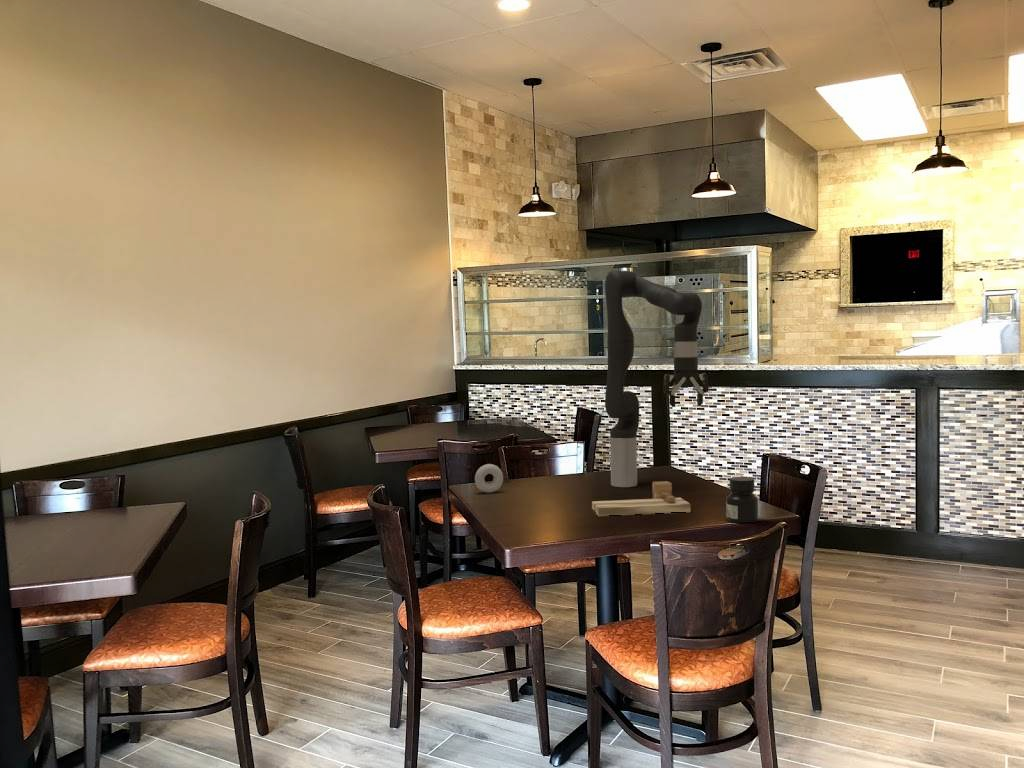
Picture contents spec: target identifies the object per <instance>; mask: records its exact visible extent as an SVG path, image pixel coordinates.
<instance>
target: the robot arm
mask: <svg viewBox="0 0 1024 768" xmlns="http://www.w3.org/2000/svg"><path fill="white" fill-rule="evenodd" d="M604 292H605V304H606V315H607V317H606V318H607V319H606V320H607V322H606V323H607V339H606V341H607V342H606V343H607V369H606V371H607V375H606V387H605V397H604V398H605V399H604V407H605V412H606V414H607V415H608V416H609V417H610V418H611V419H618V420H617V423H616V424H615V425H614V426H613V427H612V428H610V431H609V436H610V438H609V439H610V441H609V442H610V443H609V444H610V447H609V449H610V451H609V452H610V486H612V487H615V488H631V487H632V488H633V487H636V486H638V453H637V451H638V449H637V448H638V446H637V443H638V442H637V441H638V439H637V432H638V429H639V426H640V400H639V397H638V395H637V394H636V393H635V392H634V391H631V390H625V391H624V389H625V387H624V386H625V377H626V373H627V372H628V369H629V367H630V365H631V363H632V362H633V361H632V360H633V358H634V354H635V335H634V332H633V329H632V327H631V325H630V323H629V321H628V320H627V318H626V316H625V312H624V309H623V298H630V297H631V298H632V297H633V298H634V297H635V298H643V299H645V300H646V302H648V303H649V304H651V305H652V306H656V307H658V308H661V309H664V310H665V311H667V312H668V313H670V314H673V315H676V316H683V319H682V321H681V322H679V323H676V324H675V326H674V329H673V330H674V331H673V333H674V336H673V337H674V344H673V374H668V373H667V374H664V375H663V393H664V394H667V395H668V396H669V398H668V399H669V405H670V406H671V408H675V407H676V395H675V394H676V393H677V391H679V390H680V388H681V389H683V388H692V389H693V390H695V391H696V393H697V394H696V405H697V406H698V407H701V406H702V405H703V403H704V394H705V393H708V392H710V386H709V385H710V383H709V374H708V373H705V372H704V373H699V358H698V357H699V349H698V334H697V333H698V331H697V328H698V326H699V322H700V319H701V315H702V314H701V313H702V308H703V305H702V299H701V297H700V296H699V294H697V293H694V292H688V293H687V292H677V290H676V289H674V288H672V287H668V286H665V285H663V284H658V283H656V282H652V281H650V280H648V279H646V278H644V277H643V276H641V275H639V274H637V273H635V272H633V271H631V270H610V271H609V272H608V273H607V274H606V276H605V281H604ZM699 378H700V381H702V385H699V383H698V380H699ZM672 380H673V381H674V384H673V385H672V386H671V389H670V383H671V382H672ZM701 386H702V387H701Z"/></svg>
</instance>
